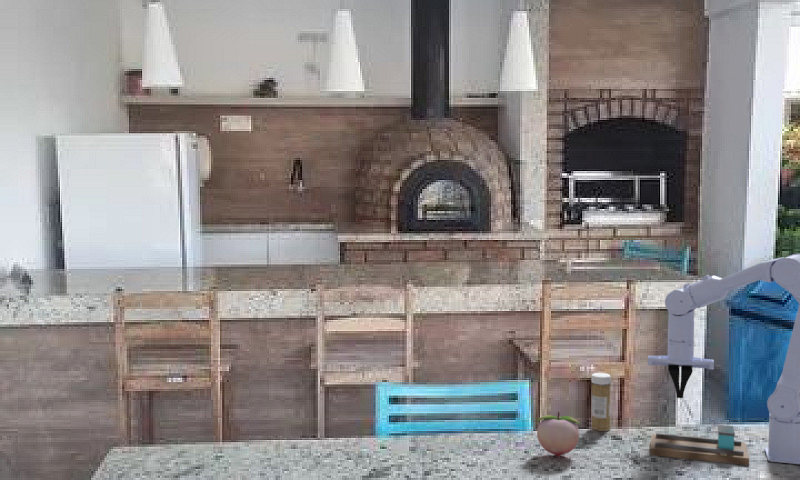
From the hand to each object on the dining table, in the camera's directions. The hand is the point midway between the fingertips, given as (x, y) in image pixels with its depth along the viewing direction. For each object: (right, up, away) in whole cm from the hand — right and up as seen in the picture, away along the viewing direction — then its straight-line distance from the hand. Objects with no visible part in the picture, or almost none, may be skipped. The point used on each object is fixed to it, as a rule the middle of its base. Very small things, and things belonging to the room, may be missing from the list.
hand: (679, 396), depth 186 cm
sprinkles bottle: (-17, -9, +7) cm, 20 cm away
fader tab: (+6, -9, -12) cm, 16 cm away
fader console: (+1, -10, -10) cm, 14 cm away
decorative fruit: (-31, -11, -12) cm, 35 cm away
